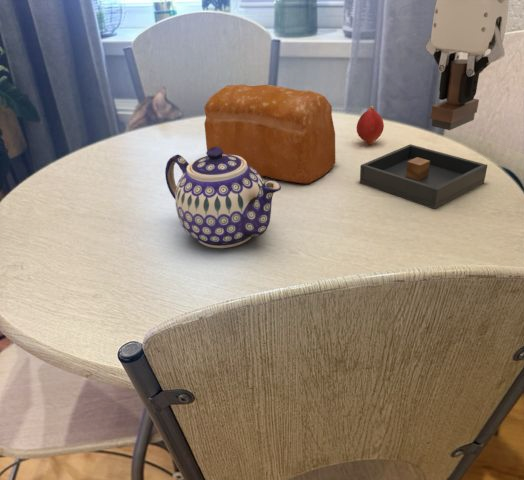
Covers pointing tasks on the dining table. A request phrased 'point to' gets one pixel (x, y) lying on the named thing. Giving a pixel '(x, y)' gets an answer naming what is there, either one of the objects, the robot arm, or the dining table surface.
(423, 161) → the brown wooden cube
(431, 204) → the tray
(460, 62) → the wooden rubber stamp
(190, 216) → the teapot
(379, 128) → the onion
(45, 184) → the dining table surface
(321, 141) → the bread
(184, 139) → the dining table surface
